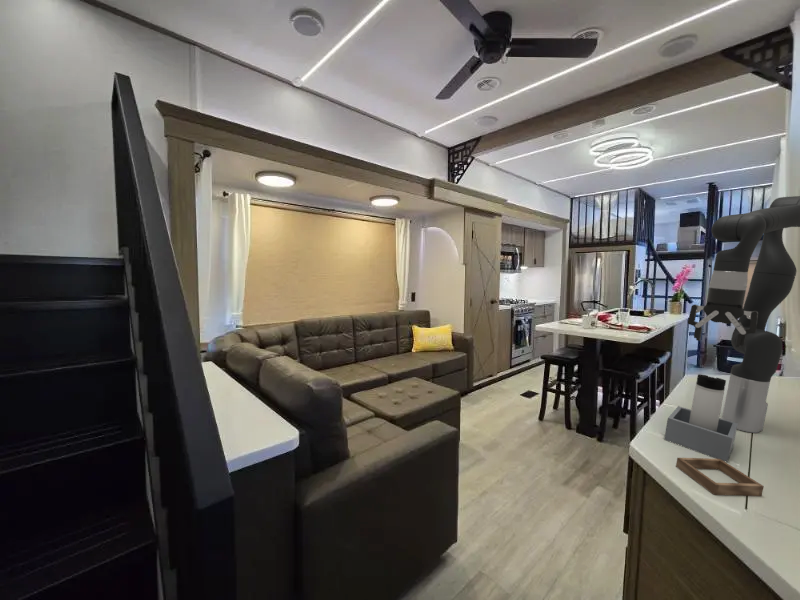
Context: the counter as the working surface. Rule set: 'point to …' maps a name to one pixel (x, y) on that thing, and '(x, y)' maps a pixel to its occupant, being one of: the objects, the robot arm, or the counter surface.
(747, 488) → the walnut holder
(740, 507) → the counter surface
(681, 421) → the gray bin
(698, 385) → the travel mug
